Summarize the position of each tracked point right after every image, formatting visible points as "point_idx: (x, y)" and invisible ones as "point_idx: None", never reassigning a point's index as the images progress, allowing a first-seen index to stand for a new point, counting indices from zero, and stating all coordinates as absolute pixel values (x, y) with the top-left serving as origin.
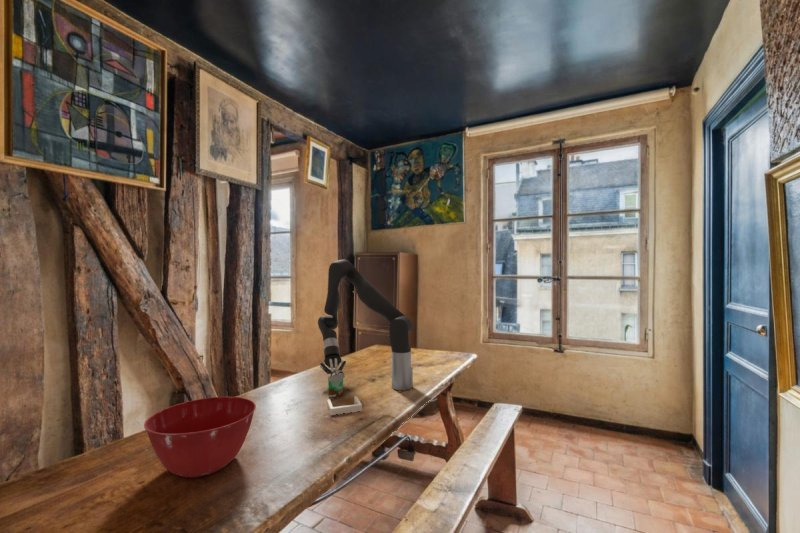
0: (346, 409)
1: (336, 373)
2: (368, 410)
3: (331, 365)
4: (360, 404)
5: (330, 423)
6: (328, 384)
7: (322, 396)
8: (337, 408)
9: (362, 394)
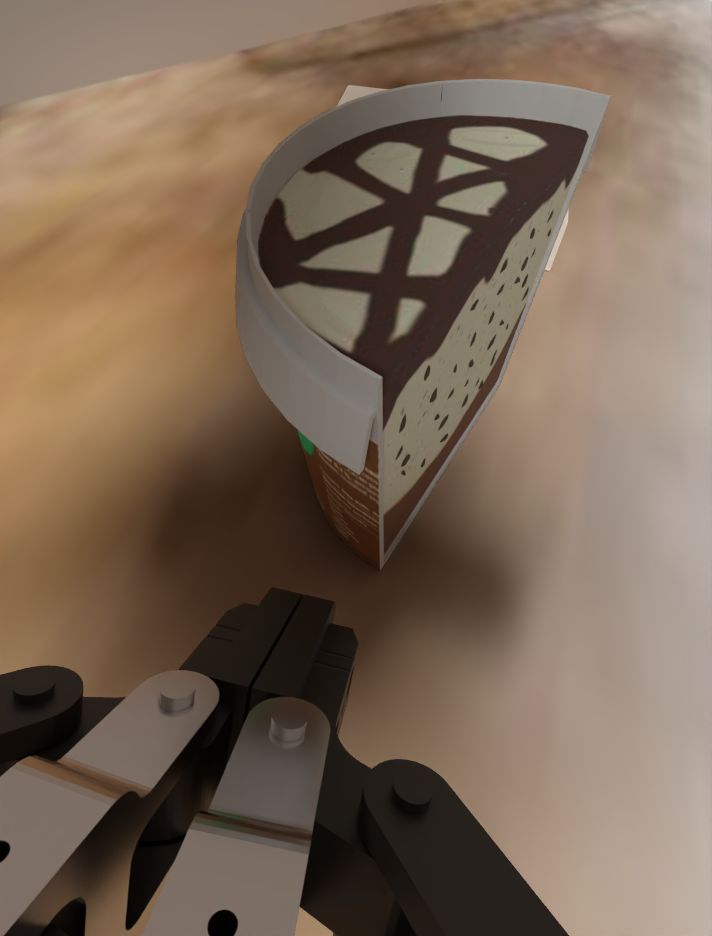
0: None
1: (386, 245)
2: None
3: (238, 903)
4: (354, 90)
5: None
6: (559, 229)
7: (555, 479)
8: None
9: (150, 331)
